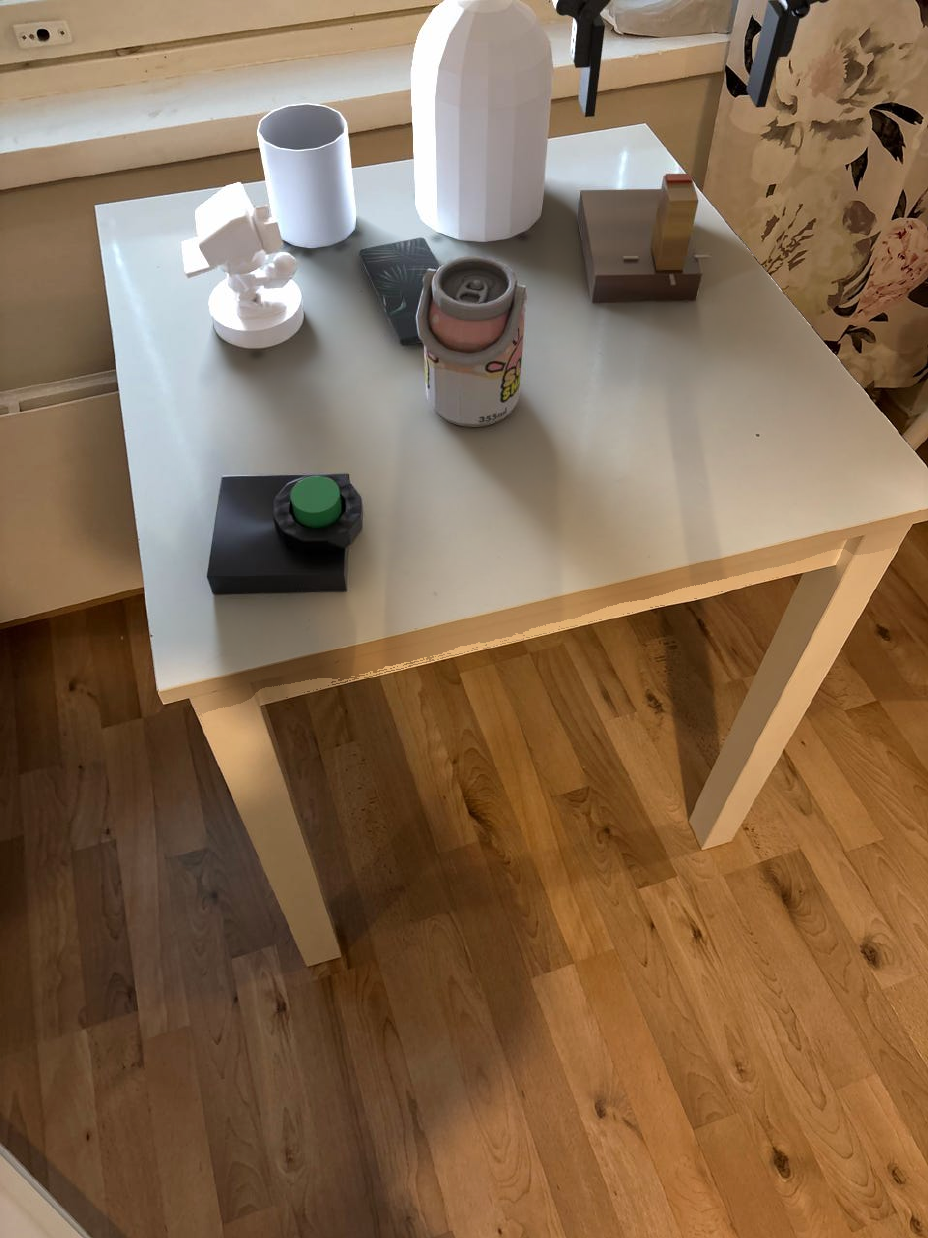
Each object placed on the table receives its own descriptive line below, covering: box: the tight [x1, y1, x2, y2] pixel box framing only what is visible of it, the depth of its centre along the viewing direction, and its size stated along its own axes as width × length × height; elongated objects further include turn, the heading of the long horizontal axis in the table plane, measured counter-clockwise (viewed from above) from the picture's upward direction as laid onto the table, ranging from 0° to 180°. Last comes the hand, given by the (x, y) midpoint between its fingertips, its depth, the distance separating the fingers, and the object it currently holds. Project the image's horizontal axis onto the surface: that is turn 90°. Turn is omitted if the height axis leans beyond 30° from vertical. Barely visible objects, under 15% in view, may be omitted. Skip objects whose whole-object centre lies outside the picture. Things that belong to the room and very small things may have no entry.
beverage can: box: [416, 255, 528, 428], centre depth 78 cm, size 9×8×12 cm
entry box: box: [206, 472, 364, 595], centre depth 72 cm, size 10×11×4 cm
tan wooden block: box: [651, 173, 700, 270], centre depth 87 cm, size 4×2×7 cm, turn 2°
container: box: [410, 0, 555, 243], centre depth 91 cm, size 13×13×20 cm
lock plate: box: [576, 188, 711, 303], centre depth 93 cm, size 16×11×3 cm
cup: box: [256, 103, 357, 249], centre depth 93 cm, size 8×8×10 cm
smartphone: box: [358, 237, 440, 347], centre depth 90 cm, size 7×1×15 cm
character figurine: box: [181, 182, 305, 349], centre depth 84 cm, size 9×10×12 cm
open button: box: [291, 476, 342, 528], centre depth 70 cm, size 4×4×2 cm
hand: (671, 103), depth 75 cm, fingers open, 13 cm apart
